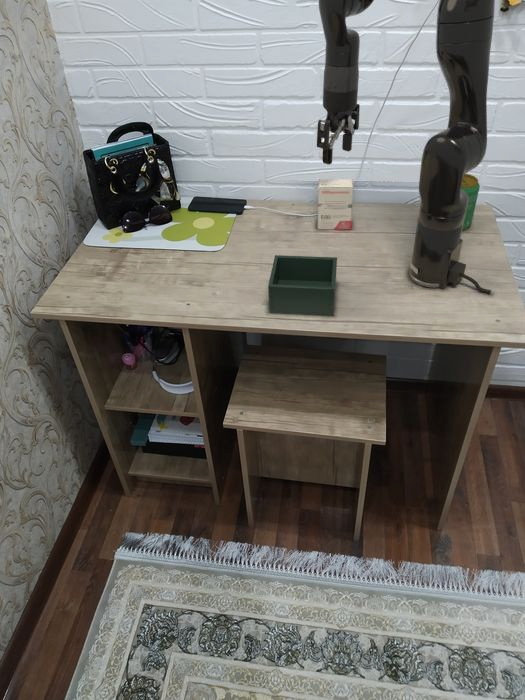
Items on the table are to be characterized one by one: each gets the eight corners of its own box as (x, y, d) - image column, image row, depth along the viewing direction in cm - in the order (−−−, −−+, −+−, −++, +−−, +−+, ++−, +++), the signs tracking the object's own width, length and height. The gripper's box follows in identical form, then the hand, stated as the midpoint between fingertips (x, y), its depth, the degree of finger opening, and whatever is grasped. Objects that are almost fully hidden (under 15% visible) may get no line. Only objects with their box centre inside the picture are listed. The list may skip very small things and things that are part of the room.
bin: (335, 283, 128) (337, 257, 124) (333, 316, 120) (334, 289, 115) (275, 281, 130) (274, 255, 125) (269, 312, 122) (268, 286, 117)
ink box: (351, 220, 148) (354, 177, 140) (351, 230, 145) (354, 187, 137) (317, 220, 149) (318, 177, 141) (317, 230, 146) (318, 187, 138)
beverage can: (462, 214, 148) (471, 170, 140) (476, 230, 142) (486, 185, 134) (433, 218, 147) (440, 174, 139) (445, 234, 141) (454, 189, 133)
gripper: (337, 97, 118) (334, 172, 129) (372, 78, 126) (366, 149, 137) (307, 91, 121) (306, 164, 132) (343, 72, 129) (339, 142, 140)
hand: (337, 156), depth 135 cm, fingers open, 8 cm apart
